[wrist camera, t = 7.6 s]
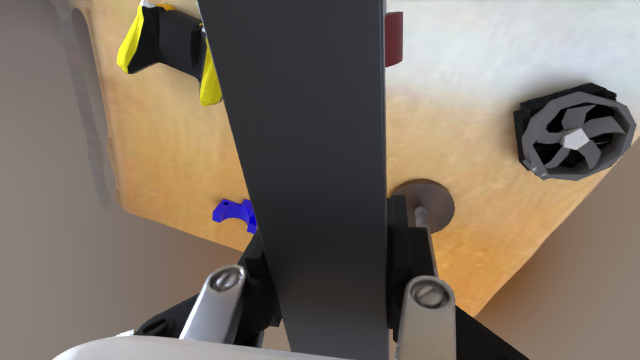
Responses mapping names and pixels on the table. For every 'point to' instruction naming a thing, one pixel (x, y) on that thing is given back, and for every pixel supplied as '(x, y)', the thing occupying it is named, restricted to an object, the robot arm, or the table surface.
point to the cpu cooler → (573, 132)
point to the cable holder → (236, 213)
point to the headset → (314, 157)
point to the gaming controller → (170, 47)
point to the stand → (427, 207)
